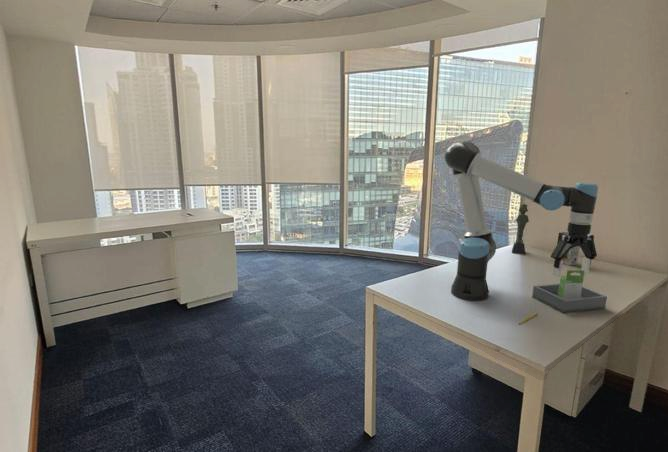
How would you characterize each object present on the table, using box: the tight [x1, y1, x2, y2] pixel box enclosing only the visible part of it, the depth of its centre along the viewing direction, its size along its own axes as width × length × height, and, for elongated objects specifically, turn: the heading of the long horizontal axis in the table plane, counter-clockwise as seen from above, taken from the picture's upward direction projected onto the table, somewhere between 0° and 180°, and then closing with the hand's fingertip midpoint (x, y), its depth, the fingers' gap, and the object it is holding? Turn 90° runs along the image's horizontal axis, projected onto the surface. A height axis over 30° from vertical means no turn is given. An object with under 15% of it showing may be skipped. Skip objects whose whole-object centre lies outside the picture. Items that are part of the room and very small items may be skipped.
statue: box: [511, 203, 530, 255], centre depth 223 cm, size 7×8×30 cm
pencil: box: [518, 312, 538, 325], centre depth 138 cm, size 1×14×1 cm, turn 128°
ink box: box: [558, 269, 585, 300], centre depth 152 cm, size 7×4×13 cm, turn 86°
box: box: [531, 283, 608, 314], centre depth 153 cm, size 20×16×5 cm
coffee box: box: [556, 231, 581, 266], centre depth 206 cm, size 9×6×16 cm
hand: (570, 274), depth 151 cm, fingers open, 13 cm apart
